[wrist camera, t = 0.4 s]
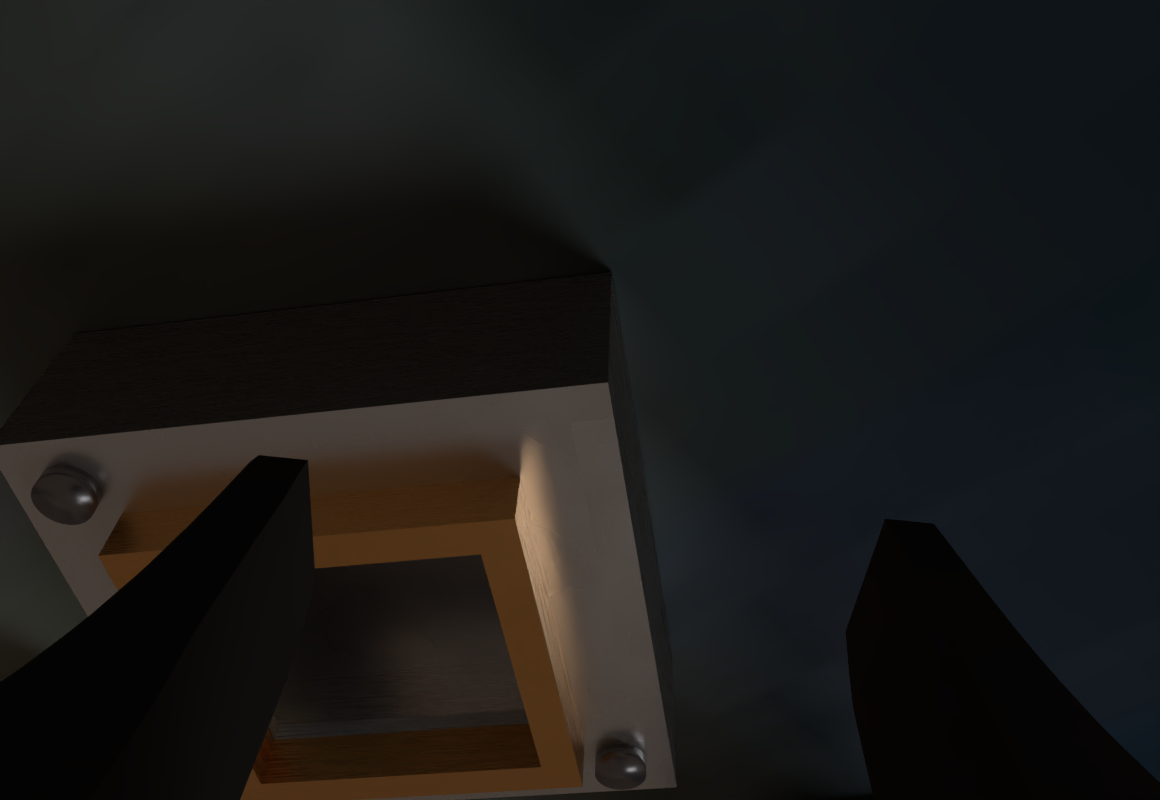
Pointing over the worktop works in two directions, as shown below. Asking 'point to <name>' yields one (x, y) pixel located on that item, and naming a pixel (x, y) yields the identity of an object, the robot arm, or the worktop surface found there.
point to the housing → (395, 527)
